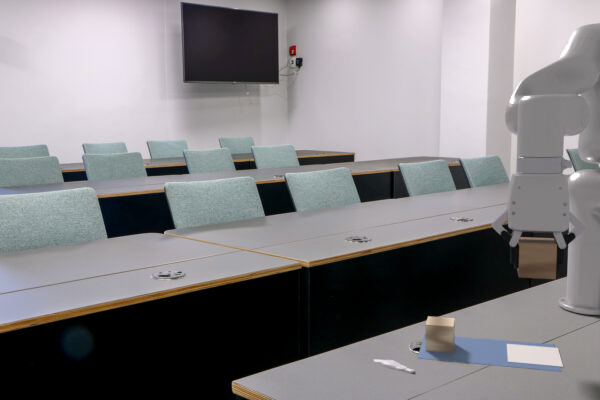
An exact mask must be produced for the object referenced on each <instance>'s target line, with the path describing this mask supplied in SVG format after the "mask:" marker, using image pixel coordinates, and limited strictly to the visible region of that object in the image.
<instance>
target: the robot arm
mask: <svg viewBox="0 0 600 400" xmlns="http://www.w3.org/2000/svg"><path fill="white" fill-rule="evenodd" d="M504 114H505V115H504V120H505V125H506V127H507V129H508V131H509V132H510V133H511V134H512V135H515V136H517V137H516V165H515V166H516V173H512V174H511V176H510V179H509V180H510V181H509V187H508V193H507V194H508V195H507V205H506V206H507V207H506V208H507V209H506V210H504V211H503V212H502V214H500V215H499V216H497V218H496V219H495V220H494V221H493V222H492V223H491V228H493V230H495V232H496V233H498V234H499V236H501V238H502V239H503V240H504V241H505V242H507V244H508V245H509V246H510V254H509V255H510V257H509V259H510V264H513V266H514V267H513V268H514V270H517V269H519V245H518V240H519V238H520V237H522V233H548V234H549V233H552V234H553V236H554V240H555V242H556V244H557V260H556V272H559V271H560V266H562V267H563V266H564V259H565V258H564V255H565V253H564V251H565V248H567V247H568V248H567V270H566V271H567V273H566V275H567V276H566V295H564V296H562V297H560V298H559V300H558V305H559V306H560V307H561V308H562V309H563V310H566V311H569V312H571V313H576V314H582V315H590V316H600V169H597V168H596V169H595V168H593V169H592V168H590V169H588V168H587V169H580V170H577V171H575V172H573V173H572V174H570V175H569V177H567V174H564V171H565V170H567V169H572V168H573V160H568V159H565V158H564V143H565V142H564V140H565V138H564V137H573V136H578V142H577V154H578V156H579V158H580V159H581V160H582V162H585V163H588V164H597V165H598V164H599V165H600V22H597V23H590V24H584V25H582V26H580V27H578V28H576V29H575V30H573V31H572V32H571V34H570V35H569V37H568V39H567V41H566V43H564V47H562V49H561V52H560V54H559V55H558V56H557V60H556V61H554V62H551V63H550V64H547V65H546V66H544V67H542V68H540V69H539V70H537V71H535V72H533V73H531V74H529V75H528V76H526V77H525V78H523V79H522V80H521V81H520V82H519V83H518V85H517V86H516V88H515V89H514V91H513V93H512V94H511V96H510V98H509V100H508V102H507V105H506V109H505V113H504ZM505 222H507V226H508V229H510V230H511V231H512V233H510V232H509V231H508V230H507V229H505V228H504V227H503V224H504V223H505ZM566 231H568V232H566ZM564 232H566V234H564V235H563V233H564Z"/></svg>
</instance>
